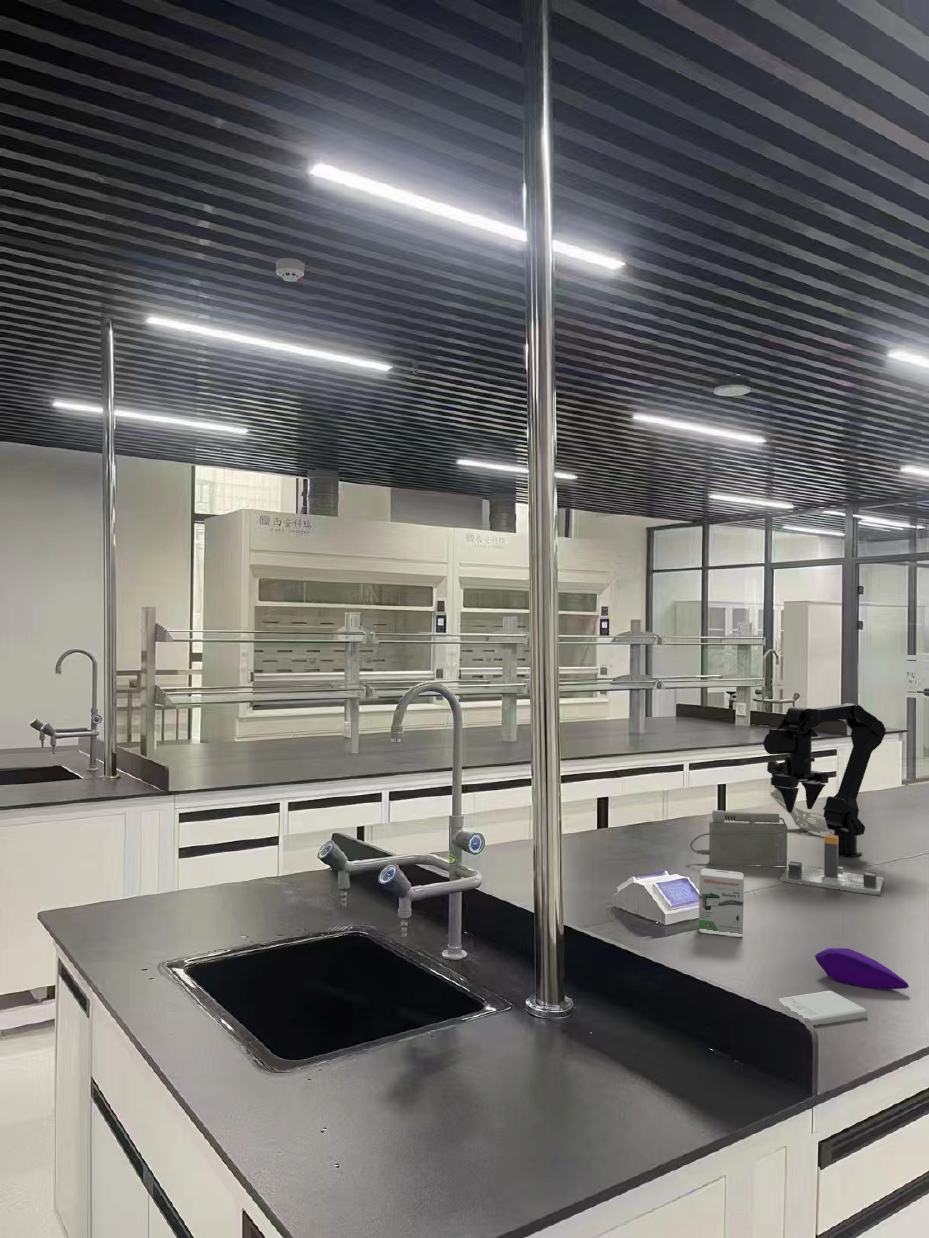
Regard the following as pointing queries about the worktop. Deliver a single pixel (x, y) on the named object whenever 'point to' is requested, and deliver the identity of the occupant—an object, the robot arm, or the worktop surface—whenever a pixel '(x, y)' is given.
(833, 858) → the lever
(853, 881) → the breaker panel
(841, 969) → the purple teardrop shape
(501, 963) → the worktop surface
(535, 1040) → the worktop surface
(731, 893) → the ink box
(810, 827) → the skeletal model
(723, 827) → the geiger counter
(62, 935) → the worktop surface
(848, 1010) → the external hard drive
